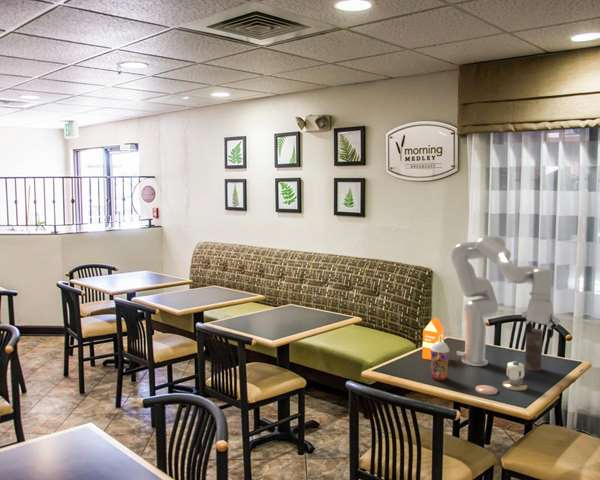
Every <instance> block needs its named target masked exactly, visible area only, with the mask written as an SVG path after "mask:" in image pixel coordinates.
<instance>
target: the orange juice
mask: <svg viewBox="0 0 600 480" xmlns="http://www.w3.org/2000/svg"><path fill="white" fill-rule="evenodd" d="M444 329H445V328H444V327H443V325H442V323H441V321H440V319H439V318H438V317H435V318H433V319H431V320H430V321H429V322H428V324H427V325H426V326H425V328H424V329H423V330H422V354H421V355H422V359H424V360H430V361H431V347H432V345H433V344H434V343H435V342H437V341H440V335H441V341H442V342H444V335H445V330H444Z"/></svg>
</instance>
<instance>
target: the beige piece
mask: <svg viewBox="0 0 600 480" xmlns="http://www.w3.org/2000/svg"><path fill="white" fill-rule="evenodd" d="M502 387H503V388H505V389H506V390H510V391H515V392H516V391H517V392H524V391H526V390H528V384H526V383H524V382H523V378H521V372H519V379H517V378H512V377H509V375H508V376H507V380H505V381H502Z"/></svg>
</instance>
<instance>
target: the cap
mask: <svg viewBox="0 0 600 480" xmlns="http://www.w3.org/2000/svg"><path fill="white" fill-rule="evenodd" d="M525 369H526V368H525V363H524V364H523V363H521V362H520V361H518V360H514V361H509V362H507V367H506V376H507V377H508V376H509V377H512V378H517V379H519V372H521V379H523V378H524V377H525V371H526V370H525Z"/></svg>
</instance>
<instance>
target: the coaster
mask: <svg viewBox="0 0 600 480" xmlns="http://www.w3.org/2000/svg"><path fill="white" fill-rule="evenodd" d="M475 391H476V392H477V393H479V394H481V395H485V396H486V395H487V396H490V395H491V396H492V395H493V396H494V395H496V394H498V392H499V391H498V388H496V387H494V386H491V385H486V384H480V385H476V386H475Z"/></svg>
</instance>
